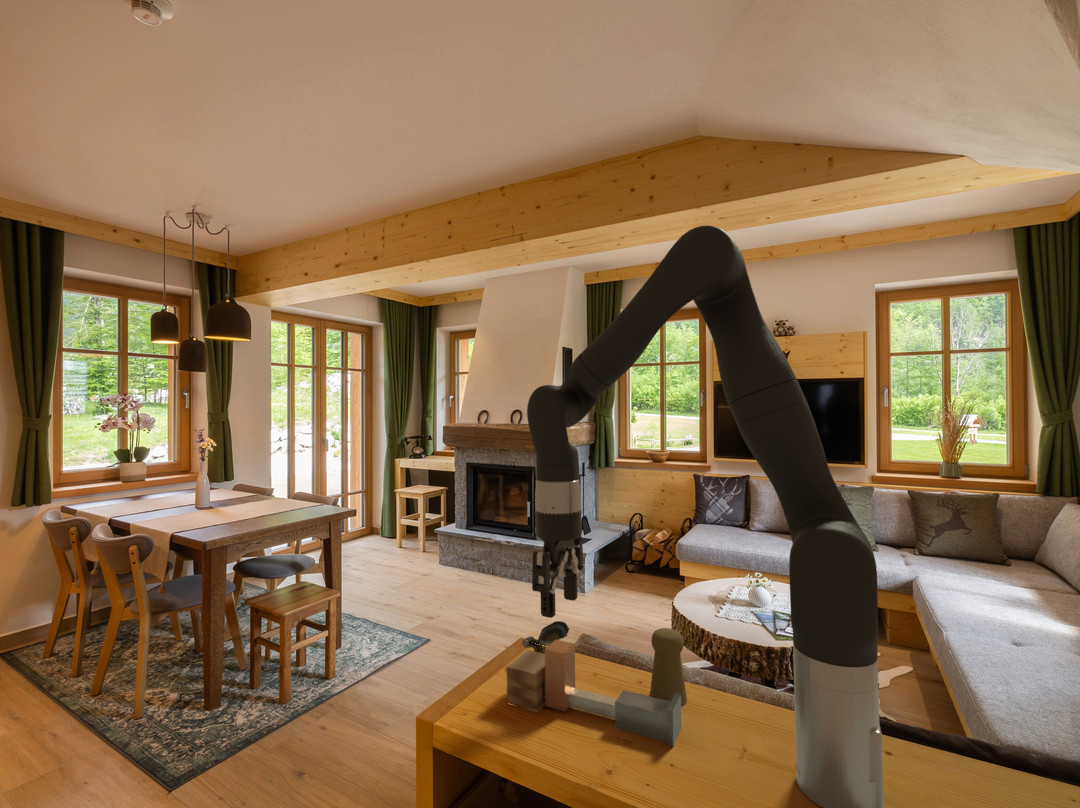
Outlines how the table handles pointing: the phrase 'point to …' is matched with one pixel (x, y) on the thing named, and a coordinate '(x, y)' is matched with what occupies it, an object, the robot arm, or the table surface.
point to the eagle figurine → (547, 636)
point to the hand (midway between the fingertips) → (560, 607)
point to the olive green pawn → (667, 665)
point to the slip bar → (570, 683)
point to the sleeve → (649, 716)
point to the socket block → (526, 681)
